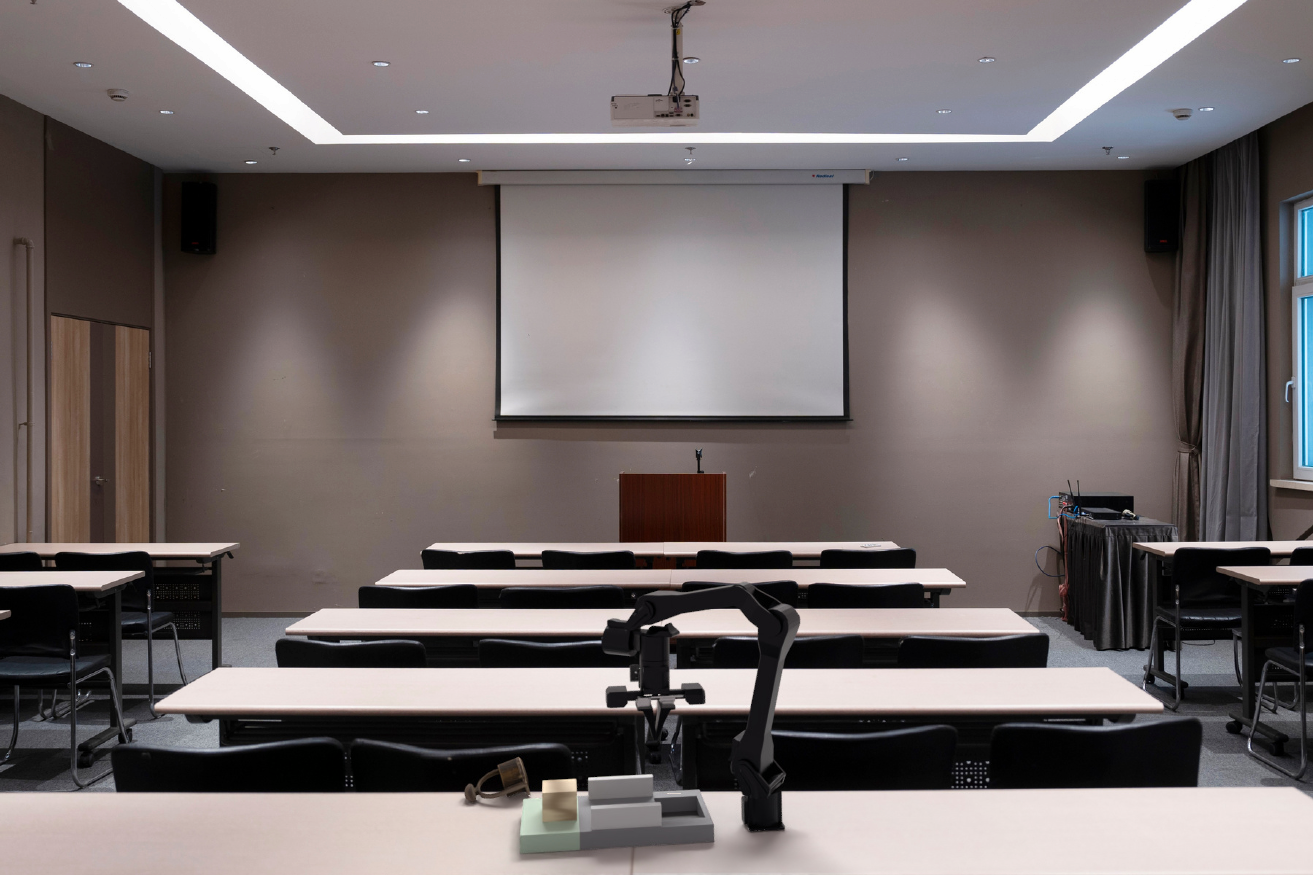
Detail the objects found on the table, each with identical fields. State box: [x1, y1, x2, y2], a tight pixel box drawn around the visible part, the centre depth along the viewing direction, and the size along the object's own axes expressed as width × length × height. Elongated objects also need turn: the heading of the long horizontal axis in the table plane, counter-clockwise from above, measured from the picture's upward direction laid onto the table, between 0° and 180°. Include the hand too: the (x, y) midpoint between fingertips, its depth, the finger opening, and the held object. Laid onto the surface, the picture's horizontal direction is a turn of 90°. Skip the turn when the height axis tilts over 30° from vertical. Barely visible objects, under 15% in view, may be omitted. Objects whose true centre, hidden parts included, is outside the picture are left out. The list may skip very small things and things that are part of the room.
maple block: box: [541, 778, 578, 822], centre depth 158 cm, size 6×6×5 cm
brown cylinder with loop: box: [463, 756, 531, 803], centre depth 175 cm, size 7×13×10 cm
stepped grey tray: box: [519, 773, 715, 855], centre depth 159 cm, size 33×16×6 cm, turn 96°
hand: (655, 740), depth 170 cm, fingers closed
